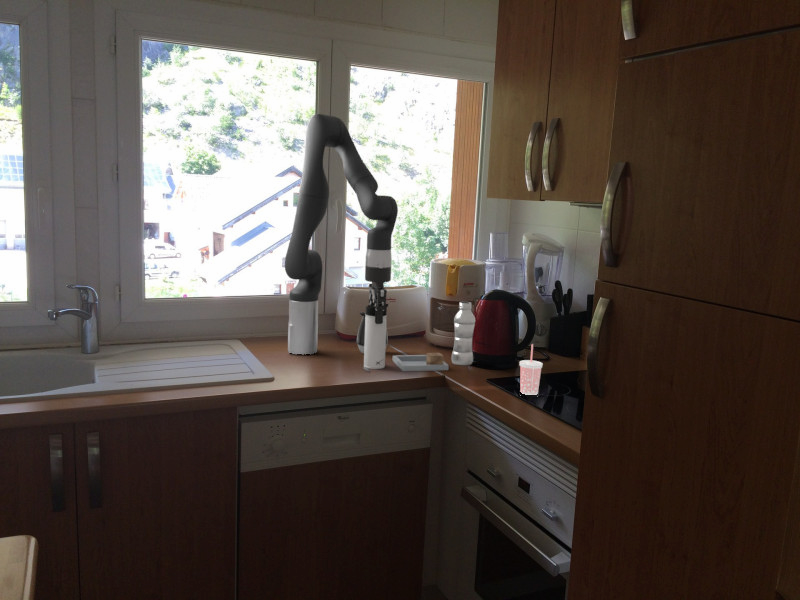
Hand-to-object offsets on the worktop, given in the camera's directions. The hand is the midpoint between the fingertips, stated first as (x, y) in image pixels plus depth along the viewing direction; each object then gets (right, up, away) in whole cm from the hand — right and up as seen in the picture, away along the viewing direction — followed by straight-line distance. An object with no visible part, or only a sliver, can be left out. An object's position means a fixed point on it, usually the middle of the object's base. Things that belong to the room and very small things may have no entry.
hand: (376, 321), depth 198 cm
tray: (+13, -14, +6) cm, 20 cm away
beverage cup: (+41, -19, -18) cm, 49 cm away
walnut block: (+17, -14, +4) cm, 22 cm away
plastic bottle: (+26, -14, +11) cm, 32 cm away
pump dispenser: (-2, -12, +22) cm, 25 cm away
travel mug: (-1, -15, +2) cm, 15 cm away
